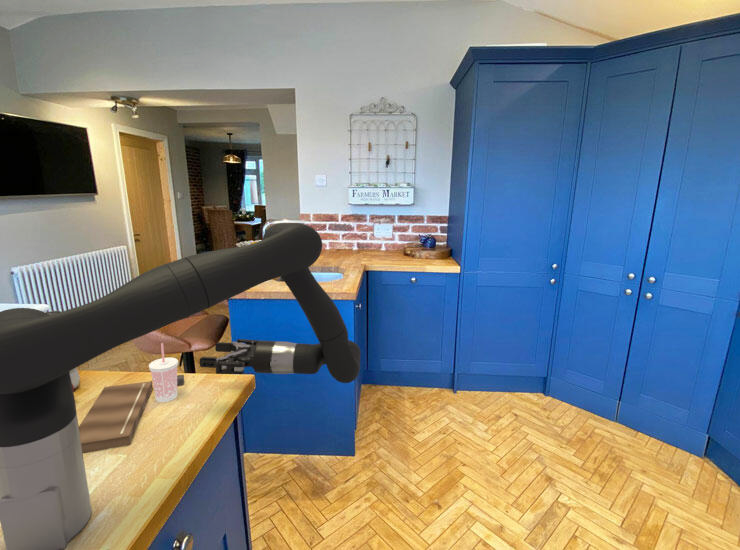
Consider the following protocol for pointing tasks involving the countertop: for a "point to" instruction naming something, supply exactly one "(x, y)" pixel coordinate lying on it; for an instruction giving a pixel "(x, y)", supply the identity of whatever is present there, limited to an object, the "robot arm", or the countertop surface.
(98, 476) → the countertop surface
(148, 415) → the countertop surface
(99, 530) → the countertop surface
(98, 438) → the walnut board
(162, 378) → the beverage cup
